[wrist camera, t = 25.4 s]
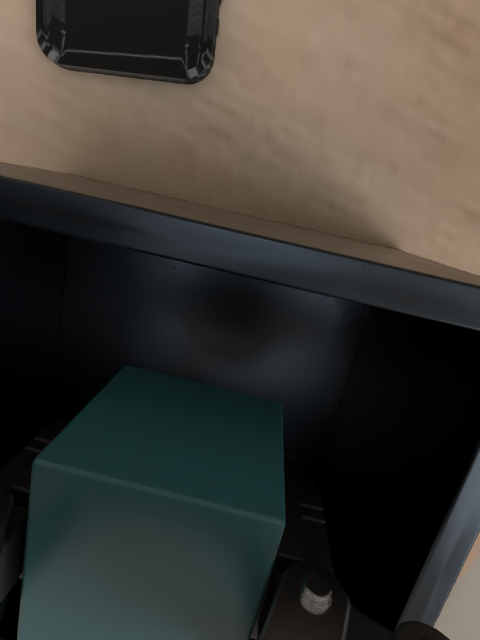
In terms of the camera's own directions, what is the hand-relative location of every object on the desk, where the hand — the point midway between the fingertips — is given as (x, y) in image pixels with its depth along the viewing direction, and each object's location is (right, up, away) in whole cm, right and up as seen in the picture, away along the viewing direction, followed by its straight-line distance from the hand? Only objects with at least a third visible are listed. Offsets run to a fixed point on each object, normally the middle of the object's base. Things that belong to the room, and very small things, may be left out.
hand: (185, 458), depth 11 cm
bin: (0, +3, +10) cm, 10 cm away
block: (0, 0, 0) cm, 0 cm away
